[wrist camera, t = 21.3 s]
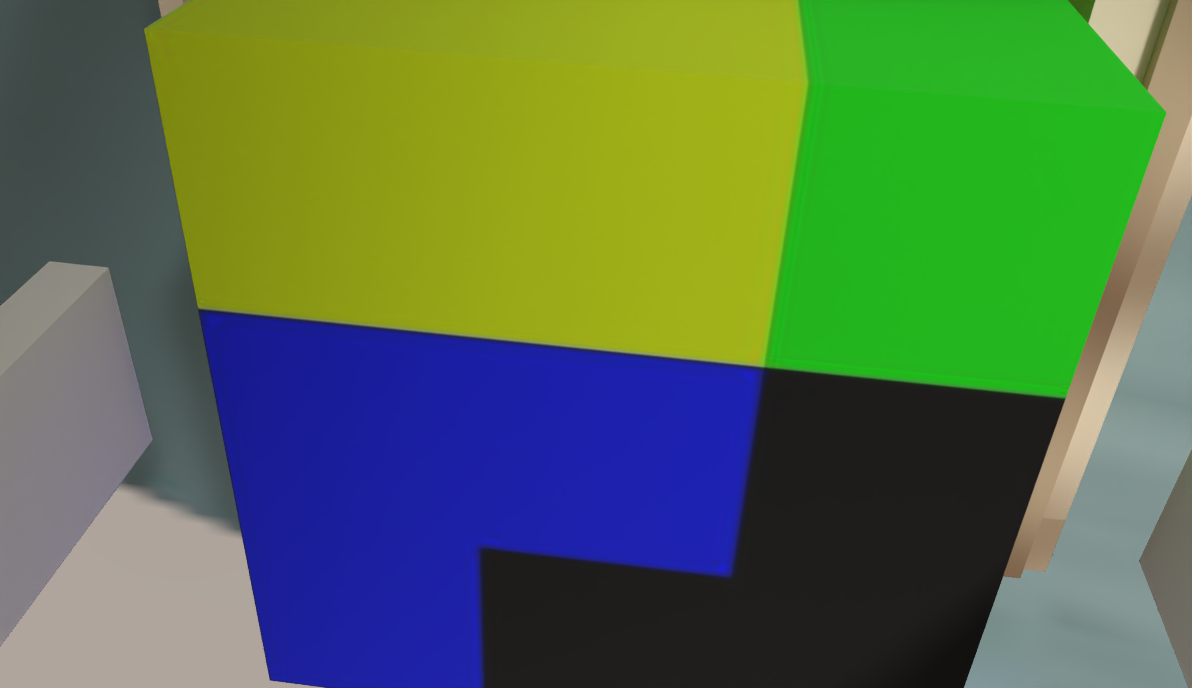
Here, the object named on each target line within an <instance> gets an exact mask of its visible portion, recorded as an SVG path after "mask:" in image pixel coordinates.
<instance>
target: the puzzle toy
mask: <svg viewBox="0 0 1192 688" xmlns="http://www.w3.org/2000/svg"><path fill="white" fill-rule="evenodd" d="M144 31H145V36H146V41H147V47H148V52H149V57H150V62H151V67H152V72H153V78H154V83H155V88H156V93H157V98H158V104H159V109H160V114H161V119H162V124H163V129H164V135H165V140H166V145H167V150H168V155H169V160H170V166H171V171H172V176H173V181H174V186H175V192H176V197H177V202H178V207H179V212H180V217H181V223H182V228H183V233H184V238H185V243H186V248H187V254H188V259H189V264H190V269H191V274H192V280H193V285H194V290H195V295H196V300H197V305H198V311H199V316H200V321H201V326H202V331H203V336H204V342H205V347H206V352H207V357H208V362H209V368H210V373H211V378H212V383H213V388H214V393H215V399H216V404H217V409H218V414H219V419H220V425H221V430H222V435H223V440H224V445H225V450H226V456H227V461H228V466H229V471H230V476H231V481H232V487H233V492H234V497H235V502H236V507H237V513H238V518H239V523H240V528H241V533H242V538H243V544H244V549H245V554H246V559H247V564H248V569H249V575H250V580H251V585H252V590H253V595H254V600H255V605H256V611H257V616H258V621H259V626H260V632H261V637H262V642H263V647H264V652H265V657H266V663H267V668H268V673H269V678H270V680H271V681H279V682H286V683H294V684H302V685H309V686H318V687H324V688H964V686H965V683H966V680H967V677H968V674H969V671H970V669H971V666H972V663H973V660H974V657H975V654H976V652H977V649H978V646H979V643H980V640H981V637H982V635H983V632H984V629H985V626H986V623H987V620H988V618H989V615H990V612H991V609H992V606H993V603H994V601H995V598H996V595H997V592H998V589H999V586H1000V584H1001V581H1002V578H1003V575H1004V572H1005V569H1006V567H1007V564H1008V561H1009V558H1010V555H1011V552H1012V550H1013V547H1014V544H1015V541H1016V538H1017V535H1018V533H1019V530H1020V527H1021V524H1022V521H1023V518H1024V516H1025V513H1026V510H1027V507H1028V504H1029V501H1030V499H1031V496H1032V493H1033V490H1034V487H1035V484H1036V481H1037V479H1038V476H1039V473H1040V470H1041V467H1042V464H1043V462H1044V459H1045V456H1046V453H1047V450H1048V447H1049V445H1050V442H1051V439H1052V436H1053V433H1054V430H1055V428H1056V425H1057V422H1058V419H1059V416H1060V413H1061V411H1062V408H1063V405H1064V402H1065V399H1066V396H1067V394H1068V391H1069V388H1070V385H1071V382H1072V379H1073V377H1074V374H1075V371H1076V368H1077V365H1078V362H1079V360H1080V357H1081V354H1082V351H1083V348H1084V345H1085V343H1086V340H1087V337H1088V334H1089V331H1090V328H1091V326H1092V323H1093V320H1094V317H1095V314H1096V311H1097V309H1098V306H1099V303H1100V300H1101V297H1102V294H1103V292H1104V289H1105V286H1106V283H1107V280H1108V277H1109V275H1110V272H1111V269H1112V266H1113V263H1114V260H1115V258H1116V255H1117V252H1118V249H1119V246H1120V243H1121V241H1122V238H1123V235H1124V232H1125V229H1126V226H1127V224H1128V221H1129V218H1130V215H1131V212H1132V209H1133V207H1134V204H1135V201H1136V198H1137V195H1138V192H1139V190H1140V187H1141V184H1142V181H1143V178H1144V175H1145V173H1146V170H1147V167H1148V164H1149V161H1150V158H1151V156H1152V153H1153V150H1154V147H1155V144H1156V141H1157V139H1158V136H1159V133H1160V130H1161V127H1162V124H1163V122H1164V119H1165V116H1166V113H1167V112H1166V111H1165V110H1164V109H1163V108H1162V107H1161V105H1160V104H1159V103H1158V102H1157V101H1156V100H1155V99H1154V98H1153V96H1152V95H1151V94H1150V93H1149V92H1148V91H1147V90H1146V88H1145V87H1144V86H1143V85H1142V84H1141V83H1140V82H1139V80H1138V79H1137V78H1136V77H1135V76H1134V75H1133V74H1132V73H1131V71H1130V70H1129V69H1128V68H1127V67H1126V66H1125V65H1124V63H1123V62H1122V61H1121V60H1120V59H1119V58H1118V57H1117V55H1116V54H1115V53H1114V52H1113V51H1112V50H1111V49H1110V48H1109V46H1108V45H1107V44H1106V43H1105V42H1104V41H1103V40H1102V38H1101V37H1100V36H1099V35H1098V34H1097V33H1096V32H1095V30H1094V29H1093V28H1092V27H1091V26H1090V25H1089V24H1088V23H1087V21H1086V20H1085V19H1084V18H1083V17H1082V16H1081V15H1080V13H1079V12H1078V11H1077V10H1076V9H1075V8H1074V7H1073V5H1072V4H1071V3H1070V2H1069V1H1068V0H189V1H187V2H186V3H184V4H182V5H181V6H179V7H178V8H176V9H174V10H173V11H171V12H170V13H168V14H167V15H165V16H163V17H162V18H160V19H159V20H157V21H155V22H154V23H152V24H151V25H149V26H147V27H146V28H144Z"/></svg>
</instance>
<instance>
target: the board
mask: <svg viewBox="0 0 1192 688" xmlns="http://www.w3.org/2000/svg"><path fill="white" fill-rule="evenodd" d="M187 1H189V0H158V2H159V8H160V13H161V18H162V17H163V16H165V15H167V14H168V13H170V12H171V11H173V10H174V9H176V8H178V7H179V6H181V5H182V4H184V3H186V2H187ZM1068 1H1069V2H1070V3H1071V4H1072V5H1073V7H1074V8H1075V9H1076V10H1077V11H1078V12H1079V13H1080V15H1081V16H1082V17H1083V18H1084V19H1085V20H1086V21H1087V23H1088V24H1089V25H1090V26H1091V27H1092V28H1093V29H1094V30H1095V32H1096V33H1097V34H1098V35H1099V36H1100V37H1101V38H1102V40H1103V41H1104V42H1105V43H1106V44H1107V45H1108V46H1109V48H1110V49H1111V50H1112V51H1113V52H1114V53H1115V54H1116V55H1117V57H1118V58H1119V59H1120V60H1121V61H1122V62H1123V63H1124V65H1125V66H1126V67H1127V68H1128V69H1129V70H1130V71H1131V73H1132V74H1133V75H1134V76H1135V77H1136V78H1137V79H1138V80H1139V82H1140V83H1141V84H1142V85H1143V86H1144V87H1145V88H1146V90H1147V91H1148V92H1149V93H1150V94H1151V95H1152V96H1153V98H1154V99H1155V100H1156V101H1157V102H1158V103H1159V104H1160V105H1161V107H1162V108H1163V109H1164V110H1165V111H1166V112H1167V113H1166V116H1165V119H1164V122H1163V124H1162V127H1161V130H1160V133H1159V136H1158V139H1157V141H1156V144H1155V147H1154V150H1153V153H1152V156H1151V158H1150V161H1149V164H1148V167H1147V170H1146V173H1145V175H1144V178H1143V181H1142V184H1141V187H1140V190H1139V192H1138V195H1137V198H1136V201H1135V204H1134V207H1133V209H1132V212H1131V215H1130V218H1129V221H1128V224H1127V226H1126V229H1125V232H1124V235H1123V238H1122V241H1121V243H1120V246H1119V249H1118V252H1117V255H1116V258H1115V260H1114V263H1113V266H1112V269H1111V272H1110V275H1109V277H1108V280H1107V283H1106V286H1105V289H1104V292H1103V294H1102V297H1101V300H1100V303H1099V306H1098V309H1097V311H1096V314H1095V317H1094V320H1093V323H1092V326H1091V328H1090V331H1089V334H1088V337H1087V340H1086V343H1085V345H1084V348H1083V351H1082V354H1081V357H1080V360H1079V362H1078V365H1077V368H1076V371H1075V374H1074V377H1073V379H1072V382H1071V385H1070V388H1069V391H1068V394H1067V396H1066V399H1065V402H1064V405H1063V408H1062V411H1061V413H1060V416H1059V419H1058V422H1057V425H1056V428H1055V430H1054V433H1053V436H1052V439H1051V442H1050V445H1049V447H1048V450H1047V453H1046V456H1045V459H1044V462H1043V464H1042V467H1041V470H1040V473H1039V476H1038V479H1037V481H1036V484H1035V487H1034V490H1033V493H1032V496H1031V499H1030V501H1029V504H1028V507H1027V510H1026V513H1025V516H1024V518H1023V521H1022V524H1021V527H1020V530H1019V533H1018V535H1017V538H1016V541H1015V544H1014V547H1013V550H1012V552H1011V555H1010V558H1009V561H1008V564H1007V567H1006V569H1005V572H1004V575H1003V576H1005V577H1013V578H1020V577H1021V574H1022V572H1023V569H1027V570H1036V571H1044V572H1046V569H1047V566H1048V564H1049V561H1050V559H1051V556H1052V554H1053V551H1054V548H1055V546H1056V543H1057V541H1058V538H1059V536H1060V533H1061V530H1062V528H1063V525H1064V523H1065V520H1066V517H1067V515H1068V512H1069V510H1070V507H1071V505H1072V502H1073V499H1074V497H1075V494H1076V492H1077V489H1078V487H1079V484H1080V481H1081V479H1082V476H1083V474H1084V471H1085V468H1086V466H1087V463H1088V461H1089V458H1090V456H1091V453H1092V450H1093V448H1094V445H1095V443H1096V440H1097V437H1098V435H1099V432H1100V430H1101V427H1102V425H1103V422H1104V419H1105V417H1106V414H1107V412H1108V409H1109V407H1110V404H1111V401H1112V399H1113V396H1114V394H1115V391H1116V388H1117V386H1118V383H1119V381H1120V378H1121V376H1122V373H1123V370H1124V368H1125V365H1126V363H1127V360H1128V358H1129V355H1130V352H1131V350H1132V347H1133V345H1134V342H1135V339H1136V337H1137V334H1138V332H1139V329H1140V327H1141V324H1142V321H1143V319H1144V316H1145V314H1146V311H1147V308H1148V306H1149V303H1150V301H1151V298H1152V296H1153V293H1154V290H1155V288H1156V285H1157V283H1158V280H1159V278H1160V275H1161V272H1162V270H1163V267H1164V265H1165V262H1166V259H1167V257H1168V254H1169V252H1170V249H1171V247H1172V244H1173V241H1174V239H1175V236H1176V234H1177V231H1178V229H1179V226H1180V223H1181V221H1182V218H1183V216H1184V213H1185V210H1186V208H1187V205H1188V203H1189V200H1190V198H1191V195H1192V0H1068Z"/></svg>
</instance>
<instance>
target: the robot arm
mask: <svg viewBox="0 0 1192 688" xmlns="http://www.w3.org/2000/svg"><path fill="white" fill-rule="evenodd" d="M152 440H153V439H152V435H151V431H150V428H149V424H148V420H147V416H146V412H145V408H144V404H143V400H142V396H141V392H140V388H139V385H138V381H137V377H136V373H135V369H134V365H133V361H132V357H131V353H130V349H129V345H128V342H127V338H126V334H125V330H124V326H123V322H122V318H121V314H120V310H119V306H118V302H117V298H116V295H115V291H114V287H113V283H112V279H111V275H110V271H109V268H108V267H98V266H89V265H80V264H71V263H62V262H52V261H49V262H48V263H47V264H46V265H45V266H44V267H43V268H41V269H40V270H39V271H38V272H37V273H36V274H35V275H34V276H33V277H32V278H30V279H29V280H28V281H27V282H26V283H25V284H24V285H23V286H22V287H21V288H20V289H18V290H17V291H16V292H15V293H14V294H13V295H12V296H11V297H10V298H9V299H7V300H6V301H5V302H4V303H3V304H2V305H1V306H0V646H1V645H2V643H3V642H4V641H5V639H6V638H7V637H8V635H9V634H10V632H11V631H12V630H13V629H14V627H15V626H16V624H17V623H18V622H19V620H20V619H21V618H22V616H23V615H24V613H25V612H26V611H27V610H28V608H29V607H30V606H31V604H32V603H33V601H34V600H35V599H36V597H37V596H38V595H39V593H40V592H41V590H42V589H43V588H44V587H45V585H46V584H47V582H48V581H49V580H50V578H51V577H52V576H53V574H54V573H55V572H56V570H57V569H58V568H59V566H60V565H61V564H62V562H63V561H64V559H65V558H66V557H67V555H68V554H69V553H70V551H71V550H72V549H73V547H74V546H75V545H76V543H77V542H78V541H79V539H80V538H81V536H82V535H83V534H84V532H85V531H86V530H87V528H88V527H89V526H90V524H91V523H92V522H93V520H94V519H95V517H96V516H97V515H98V513H99V512H100V511H101V509H102V508H103V507H104V505H105V504H106V502H107V501H108V500H109V499H110V497H111V496H112V494H113V493H114V492H115V490H116V489H117V488H118V486H119V485H120V484H121V482H122V481H123V480H124V478H125V477H126V475H127V474H128V473H129V471H130V470H131V469H132V467H133V466H134V465H135V463H136V462H137V461H138V459H139V458H140V457H141V455H142V454H143V452H144V451H145V450H146V448H147V447H148V446H149V444H150V443H151V442H152ZM1139 561H1140V564H1141V567H1142V569H1143V572H1144V574H1145V577H1146V580H1147V582H1148V585H1149V587H1150V590H1151V592H1152V595H1153V598H1154V600H1155V603H1156V605H1157V608H1158V610H1159V613H1160V616H1161V618H1162V621H1163V623H1164V626H1165V629H1166V631H1167V634H1168V636H1169V639H1170V641H1171V644H1172V647H1173V649H1174V652H1175V654H1176V657H1177V659H1178V662H1179V665H1180V667H1181V670H1182V672H1183V675H1184V678H1185V680H1186V683H1187V685H1188V688H1192V450H1191V453H1190V455H1189V457H1188V459H1187V461H1186V463H1185V465H1184V467H1183V469H1182V472H1181V474H1180V476H1179V478H1178V480H1177V482H1176V484H1175V486H1174V488H1173V491H1172V493H1171V495H1170V497H1169V499H1168V501H1167V503H1166V505H1165V507H1164V510H1163V512H1162V514H1161V516H1160V518H1159V520H1158V522H1157V524H1156V526H1155V529H1154V531H1153V533H1152V535H1151V537H1150V539H1149V541H1148V543H1147V545H1146V548H1145V550H1144V552H1143V554H1142V556H1141V558H1140V560H1139Z"/></svg>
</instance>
